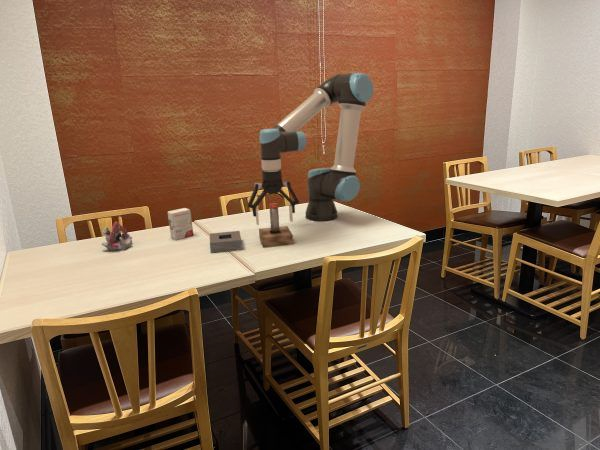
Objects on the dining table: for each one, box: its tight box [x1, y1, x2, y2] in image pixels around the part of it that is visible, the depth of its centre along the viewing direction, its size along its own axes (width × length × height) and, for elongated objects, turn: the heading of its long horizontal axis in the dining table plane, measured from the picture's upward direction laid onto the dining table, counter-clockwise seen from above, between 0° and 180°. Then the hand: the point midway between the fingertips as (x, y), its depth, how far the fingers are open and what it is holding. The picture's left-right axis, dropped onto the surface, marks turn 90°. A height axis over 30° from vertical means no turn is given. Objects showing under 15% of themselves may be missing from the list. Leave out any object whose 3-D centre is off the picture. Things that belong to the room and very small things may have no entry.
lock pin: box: [268, 202, 280, 234], centre depth 177 cm, size 3×3×16 cm
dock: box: [209, 230, 243, 254], centre depth 175 cm, size 12×12×4 cm
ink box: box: [167, 207, 194, 241], centre depth 188 cm, size 9×5×12 cm, turn 129°
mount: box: [258, 225, 294, 248], centre depth 179 cm, size 12×12×4 cm
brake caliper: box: [101, 221, 133, 252], centre depth 179 cm, size 11×11×12 cm
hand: (274, 222), depth 177 cm, fingers open, 13 cm apart
